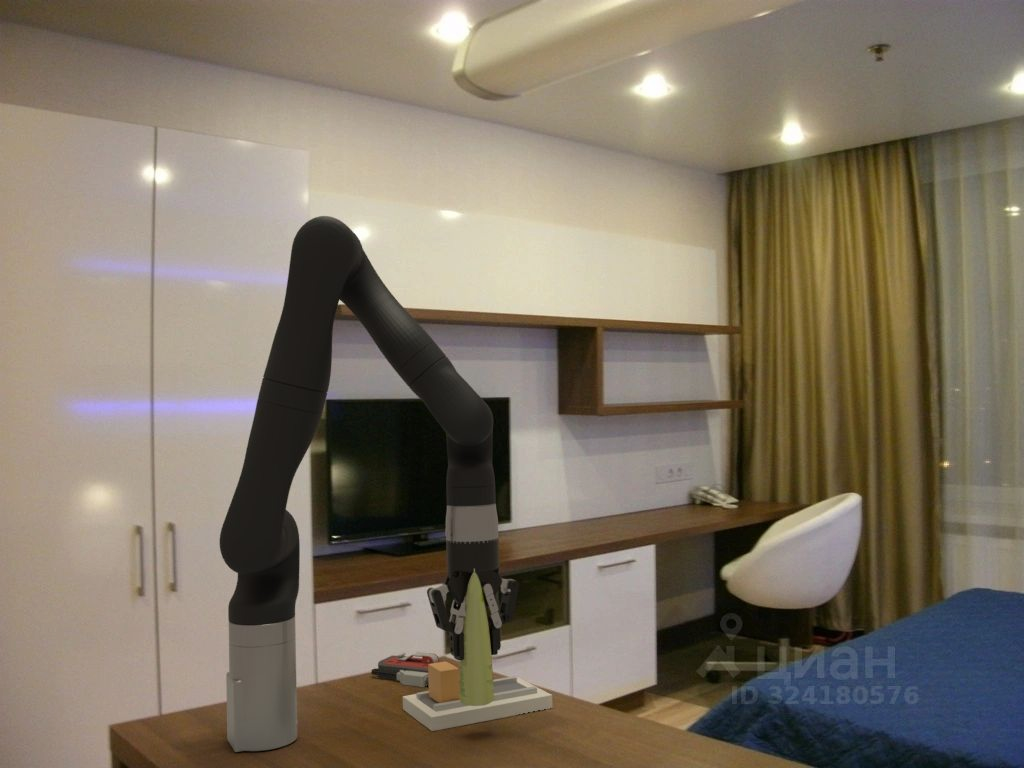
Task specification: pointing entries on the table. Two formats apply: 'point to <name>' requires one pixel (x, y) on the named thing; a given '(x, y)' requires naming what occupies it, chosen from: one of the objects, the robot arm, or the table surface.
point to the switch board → (508, 701)
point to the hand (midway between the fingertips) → (475, 655)
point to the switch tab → (443, 682)
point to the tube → (476, 650)
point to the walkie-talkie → (407, 668)
